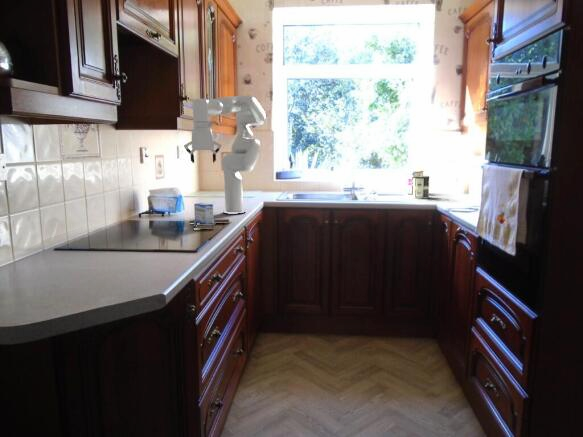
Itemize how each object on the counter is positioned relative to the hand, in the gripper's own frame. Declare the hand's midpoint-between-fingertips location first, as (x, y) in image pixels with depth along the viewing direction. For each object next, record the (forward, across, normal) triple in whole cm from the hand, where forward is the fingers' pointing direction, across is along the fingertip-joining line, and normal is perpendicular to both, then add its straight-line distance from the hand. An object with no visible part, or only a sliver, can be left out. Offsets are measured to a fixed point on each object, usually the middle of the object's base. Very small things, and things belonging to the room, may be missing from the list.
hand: (203, 162), depth 213 cm
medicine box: (+26, 0, +17) cm, 31 cm away
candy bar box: (+29, -142, -83) cm, 167 cm away
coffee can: (+29, -137, -62) cm, 153 cm away
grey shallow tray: (+28, 0, +17) cm, 33 cm away
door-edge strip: (+28, -2, +10) cm, 30 cm away
